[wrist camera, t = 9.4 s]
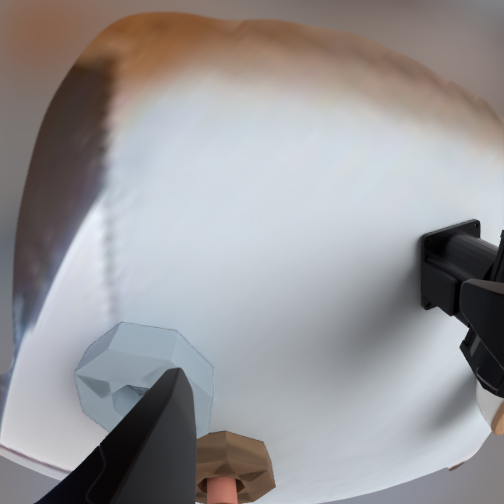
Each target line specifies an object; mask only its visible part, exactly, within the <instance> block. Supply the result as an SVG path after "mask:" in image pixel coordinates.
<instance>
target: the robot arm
mask: <svg viewBox="0 0 504 504" xmlns="http://www.w3.org/2000/svg"><path fill="white" fill-rule="evenodd" d="M475 224H476V226H475ZM500 237H501V241H500V245H499V247H497V246H495V245H493V244H491V243H489V242H486V241H484V240H482V239H480V221H478V220H476V219H473V220H470V221H466V222H463V223H460V224H457V225H453V226H450V227H447V228H443V229H440V230H437V231H434V232H430V233H427V234H425V235H424V236H423V237H422V239H421V249H422V265H421V293H422V301H421V305H422V307H423V308H424V309H425V310H429V309H432V308H434V307H436V306H438V307H439V308H440V309H442V310H443V311H444V312H445V313H446V314H448V315H449V316H455V317H456V318H457V319H458V320H460V321H461V322H462V323H463V324H464V325H466V326H467V327H468V328H469V330H468V332H467V335H466V337H465V339H464V340H463V341H462V343H461V345H460V347H459V348H460V349H461V351H462V353H463V355H464V356H465V358H466V360H467V362H468V363H469V365H470V367H471V369H472V371H473V372H474V374H475V376H476V378H477V380H478V381H479V383H480V384H481V386H482V388H483V389H485V390H487V391H489V392H490V393H492V394H493V395H495V396H498V397H500V398H504V230H502V232H501V236H500ZM428 239H429V241H428V243H427V240H428ZM427 303H428V304H427ZM426 304H427V305H426ZM196 454H197V433H196V421H195V409H194V396H193V390H192V387H191V385H190V383H189V381H188V379H187V377H186V375H185V373H184V371H183V369H182V368H181V367H176V368H170V369H167V370H166V371H165V372H164V373H163V374H162V376H161V377H160V378H159V379H158V380H157V381H156V382H155V383H154V384H153V386H152V387H151V388H150V389H149V390H148V391H147V392H146V393H145V395H144V396H143V397H142V398H141V399H140V400H139V401H138V402H137V403H136V404H135V406H134V407H133V408H132V409H131V410H130V411H129V412H128V413H127V414H126V416H125V417H124V418H123V419H122V420H121V421H120V422H119V423H118V424H117V425H116V427H115V428H114V429H113V430H112V431H111V432H110V433H109V434H108V435H107V436H106V437H105V439H104V440H103V441H102V442H101V443H100V446H97V447H96V448H95V449H94V450H93V451H92V453H91V454H90V455H89V456H88V457H87V458H86V459H85V460H84V461H83V462H82V463H81V464H80V465H79V466H78V467H77V468H76V469H75V470H74V471H72V472H71V473H70V474H69V475H68V476H67V477H66V478H65V479H64V480H62V481H61V482H60V483H59V484H58V485H57V486H55V487H54V488H53V489H52V490H51V491H50V492H48V493H47V494H46V495H45V496H44V497H43V498H41V499H40V500H39V501H37V502H36V503H34V504H195V497H196Z"/></svg>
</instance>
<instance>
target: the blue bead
mask: <svg viewBox="0 0 504 504" xmlns="http://www.w3.org/2000/svg"><path fill="white" fill-rule="evenodd" d="M176 367H181V368H182V369H183V371H184V373H185V375H186V377H187V379H188V381H189V383H190V385H191V387H192V390H193V396H194V409H195V421H196V433H197V439H198V438H200V437H202V436H205V435H207V434H208V430H209V423H210V416H211V409H212V402H213V366H212V365H211V364H210V363H209V362H208V361H207V360H206V359H205V358H204V357H203V356H202V355H200V354H199V353H198V352H197V351H196V350H195V349H194V348H193V347H192V346H191V345H190V344H189V343H188V342H187V340H186V339H185V338H184V337H183V336H182V335H181V334H180V333H179V332H178V331H175V330H168V329H162V328H155V327H149V326H143V325H137V324H131V323H125V322H121V323H120V324H118V325H117V326H116V327H114V328H113V329H112V330H110V331H109V332H108V333H106V334H105V335H104V336H102V337H101V338H100V339H98V340H97V341H96V342H94V343H93V344H92V345H90V346H89V348H88V349H87V351H86V353H85V355H84V356H83V358H82V360H81V361H80V363H79V365H78V367H77V369H76V370H75V372H74V377H75V382H76V386H77V391H78V395H79V399H80V403H81V407H82V411H83V412H84V413H85V414H86V415H88V416H89V417H90V418H91V419H92V420H94V421H95V422H96V423H98V424H99V425H100V426H101V427H103V428H104V429H105V430H107V431H108V432H109V433H110V432H111V431H112V430H113V429H114V428H115V427H116V425H117V424H118V423H119V422H120V421H121V420H122V419H123V418H124V417H125V416H126V414H127V413H128V412H129V411H130V410H131V409H132V408H133V407H134V406H135V404H136V403H137V402H138V401H139V400H140V399H141V398H142V397H143V396H144V395H139V394H138V393H137V392H136V391H135V390H134V389H132V388H131V387H130V386H129V385H133V386H138V387H143V388H149V389H150V388H151V387H152V386H153V384H154V383H155V382H156V381H157V380H158V379H159V378H160V377H161V376H162V374H163V373H164V372H165V371H166V370H167V369H170V368H176Z"/></svg>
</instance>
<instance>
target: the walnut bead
mask: <svg viewBox="0 0 504 504" xmlns="http://www.w3.org/2000/svg"><path fill="white" fill-rule="evenodd" d="M220 476H225V477H229V478H234V479H236V490H237V501H238V504H242V503H249V502H254V501H256V500H257V499H259V498H260V497H262V496H263V495H265V494H266V493H268V492H269V491H271V490H272V489H273V488H275V487H276V486H275V480H274V475H273V469H272V463H271V460H270V457H269V455H268V452H267V450H266V447H265V445H264V442H262V441H258V440H255V439H251V438H247V437H244V436H241V435H237V434H234V433H231V432H227V431H222V432H216V433H209V434H207V435H205V436H202V437H200V438H198V439H197V454H196V497H195V502H198V503H203V504H207V478H212V477H220Z"/></svg>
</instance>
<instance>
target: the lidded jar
mask: <svg viewBox="0 0 504 504" xmlns="http://www.w3.org/2000/svg"><path fill="white" fill-rule="evenodd" d="M476 382H477V387H476V401H477V404H478V408H479V410H480V412H481V414H482V416H483V418H484V419H485V421H486V422H487V423H488V425H489V426H490V427H491V430H492V431H493V433H494V434H495V435H501V434H504V398H500V397H498V396H495V395H493V394H492V393H490V392H489V391H487V390H485V389H483V388H482V386H481V384H480V383H479V381H478V380H477V378H476Z"/></svg>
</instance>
